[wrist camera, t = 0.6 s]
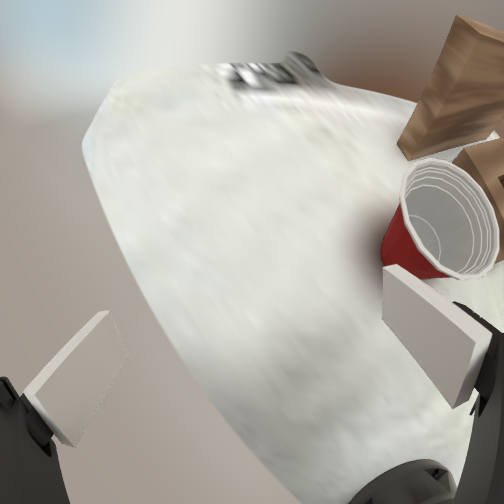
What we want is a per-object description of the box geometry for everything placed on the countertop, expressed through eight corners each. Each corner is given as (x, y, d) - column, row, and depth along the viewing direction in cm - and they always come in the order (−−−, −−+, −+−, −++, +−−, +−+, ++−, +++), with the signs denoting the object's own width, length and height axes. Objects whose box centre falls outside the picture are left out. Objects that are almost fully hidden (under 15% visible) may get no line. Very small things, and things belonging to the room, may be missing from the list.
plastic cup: (439, 220, 28) (493, 174, 17) (436, 306, 26) (504, 289, 14) (363, 199, 30) (399, 137, 18) (352, 291, 27) (399, 266, 16)
